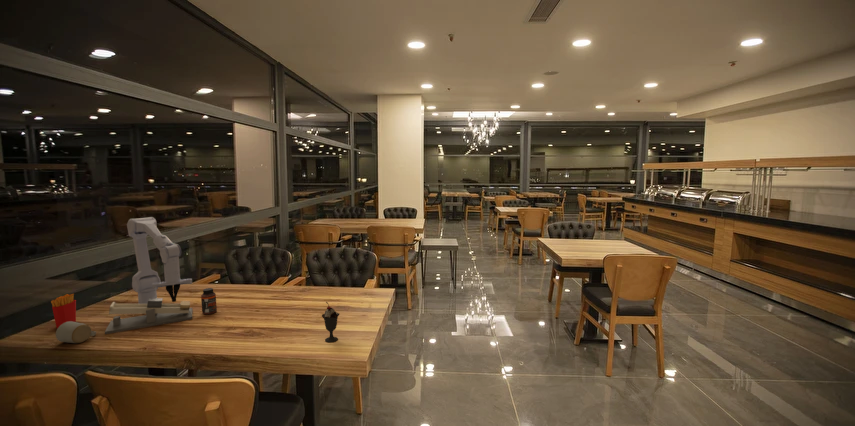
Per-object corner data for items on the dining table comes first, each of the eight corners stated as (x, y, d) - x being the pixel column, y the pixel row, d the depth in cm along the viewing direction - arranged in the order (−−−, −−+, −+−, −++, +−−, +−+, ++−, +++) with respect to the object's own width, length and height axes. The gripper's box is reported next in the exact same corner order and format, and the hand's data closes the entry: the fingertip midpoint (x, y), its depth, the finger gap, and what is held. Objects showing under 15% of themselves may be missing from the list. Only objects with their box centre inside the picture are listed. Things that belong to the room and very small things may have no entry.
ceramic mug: (73, 346, 139) (71, 327, 139) (55, 345, 141) (54, 325, 140) (102, 335, 150) (101, 316, 149) (85, 334, 151) (84, 315, 150)
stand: (111, 322, 162) (110, 308, 162) (192, 309, 178) (191, 296, 177) (104, 334, 150) (103, 318, 150) (192, 319, 166) (191, 305, 166)
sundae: (324, 336, 148) (323, 299, 147) (341, 335, 149) (340, 299, 147) (320, 343, 142) (319, 305, 140) (338, 343, 142) (337, 305, 141)
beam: (111, 310, 159) (113, 300, 159) (188, 309, 174) (189, 300, 174) (108, 315, 153) (110, 305, 153) (188, 314, 168) (189, 305, 168)
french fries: (70, 321, 164) (67, 292, 163) (80, 320, 164) (77, 292, 163) (50, 329, 155) (47, 299, 154) (61, 329, 155) (58, 299, 154)
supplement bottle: (209, 315, 170) (207, 291, 169) (199, 314, 172) (197, 290, 171) (220, 310, 176) (218, 287, 175) (209, 309, 178) (207, 286, 176)
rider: (147, 307, 165) (149, 298, 165) (161, 306, 167) (162, 298, 167) (146, 310, 161) (148, 301, 161) (160, 310, 164) (162, 301, 164)
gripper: (151, 276, 159) (153, 306, 161) (191, 271, 167) (193, 300, 168) (152, 272, 165) (154, 302, 167) (191, 268, 173) (193, 296, 174)
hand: (174, 301), depth 168 cm, fingers closed
